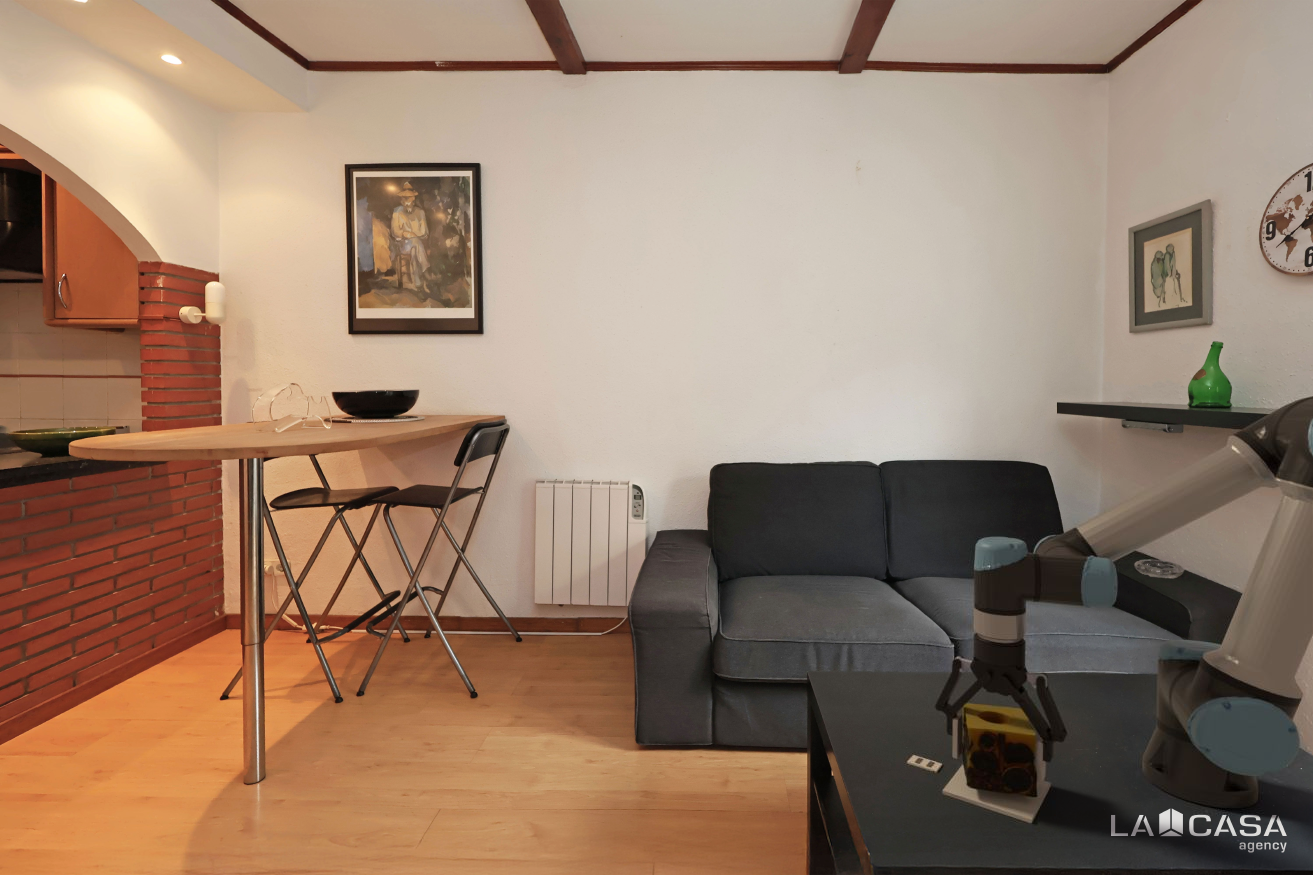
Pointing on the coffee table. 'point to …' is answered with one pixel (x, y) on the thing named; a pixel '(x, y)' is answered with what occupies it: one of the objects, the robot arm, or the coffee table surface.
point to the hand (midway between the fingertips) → (997, 766)
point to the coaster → (997, 798)
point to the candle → (999, 750)
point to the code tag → (924, 763)
